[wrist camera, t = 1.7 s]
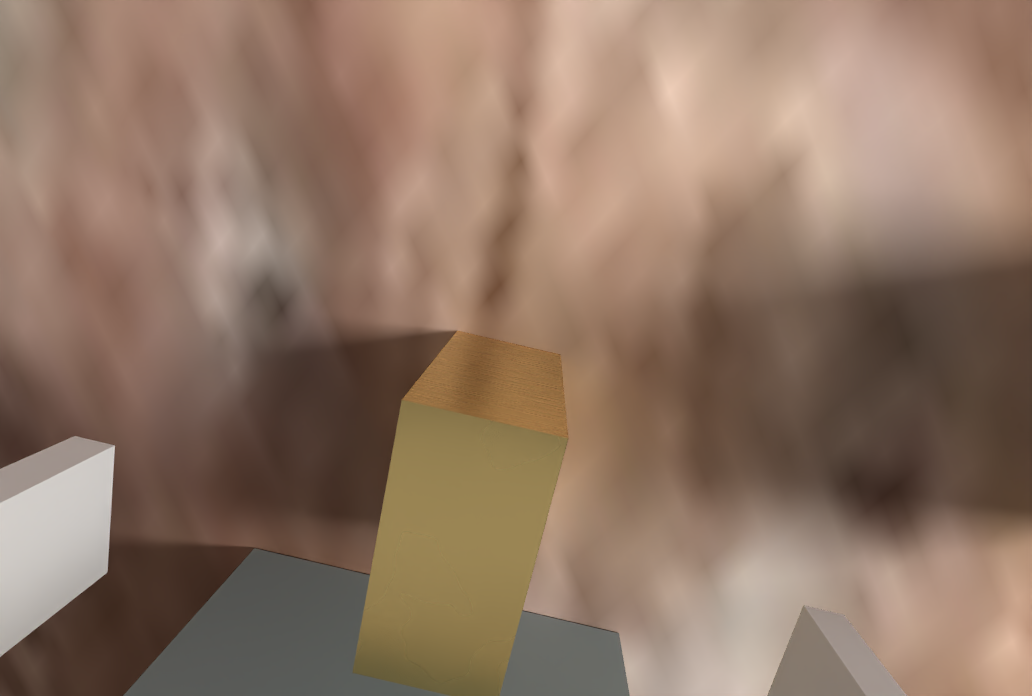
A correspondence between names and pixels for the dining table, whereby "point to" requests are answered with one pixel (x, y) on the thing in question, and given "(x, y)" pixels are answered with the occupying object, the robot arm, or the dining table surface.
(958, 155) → the dining table surface
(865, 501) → the dining table surface
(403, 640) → the block
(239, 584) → the open-top box
